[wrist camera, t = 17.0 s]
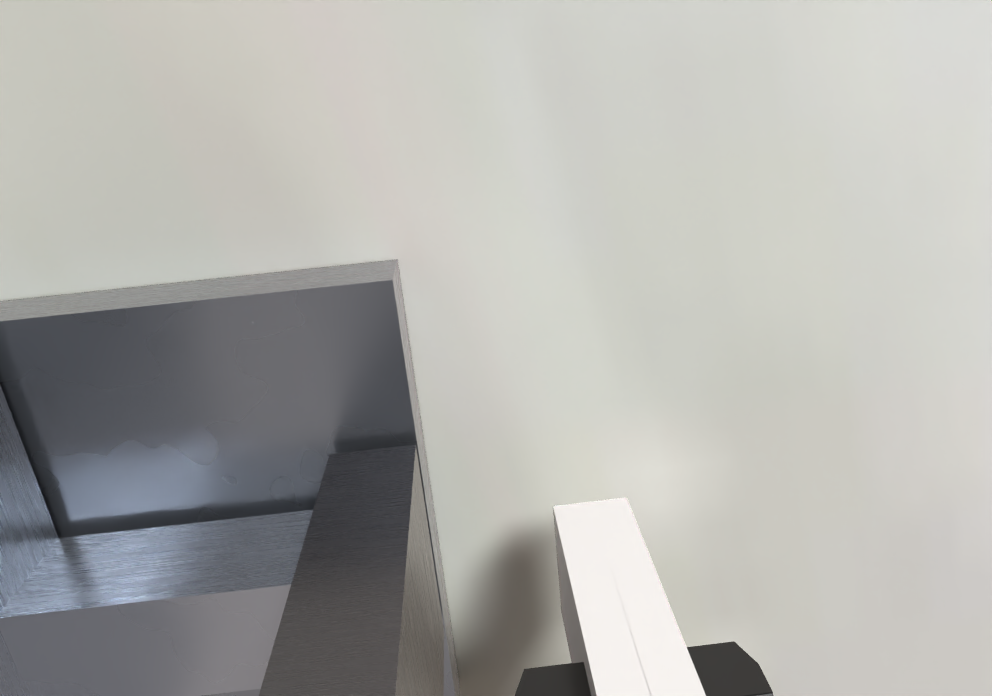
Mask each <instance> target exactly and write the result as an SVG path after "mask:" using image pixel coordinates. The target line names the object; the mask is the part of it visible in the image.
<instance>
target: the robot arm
mask: <svg viewBox="0 0 992 696" xmlns="http://www.w3.org/2000/svg"><path fill="white" fill-rule="evenodd" d="M553 512H554V524H555V537H556V549H557V562H558V574H559V586H560V599H561V611H562V617H563V622H564V627H565V632H566V637H567V642H568V646H569V651H570V656H571V661H572V663H570V664H562V665H554V666H546V667H538V668H530V669H524V672H523V674H522V677H521V680H520V683H519V685H518V688H517V691H516V694H515V696H773V692H772V690H771V688H770V686H769V684H768V682H767V680H766V678H765V676H764V674H763V672H762V670H761V668H760V666H759V664H758V663H757V662H756V661H755V660H754V659H752V658H751V657H750V656H749V655H748V654H747V653H746V652H745V651H744V650H743V649H742V648H741V647H739V646H738V645H737V644H736V643H735V642H727V643H719V644H710V645H702V646H694V647H686V644H685V642H684V639H683V637H682V634H681V632H680V629H679V627H678V624H677V622H676V619H675V617H674V614H673V612H672V609H671V607H670V604H669V602H668V599H667V597H666V594H665V592H664V589H663V587H662V584H661V582H660V579H659V577H658V574H657V572H656V569H655V567H654V564H653V562H652V559H651V557H650V554H649V552H648V549H647V547H646V544H645V542H644V539H643V537H642V534H641V532H640V529H639V527H638V524H637V522H636V519H635V517H634V514H633V512H632V509H631V507H630V504H629V502H628V499H627V497H624V498H616V499H608V500H599V501H591V502H582V503H574V504H565V505H557V506H553Z"/></svg>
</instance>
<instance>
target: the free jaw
mask: <svg viewBox="0 0 992 696" xmlns="http://www.w3.org/2000/svg"><path fill="white" fill-rule="evenodd" d="M254 689H260V693H259V696H444V627H443V620H442V614H441V607H440V601H439V594H438V588H437V581H436V574H435V568H434V561H433V555H432V548H431V541H430V535H429V528H428V522H427V515H426V509H425V502H424V495H423V489H422V482H421V476H420V469H419V462H418V456H417V449H416V445H408V446H398V447H389V448H380V449H371V450H362V451H353V452H344V453H335V454H329V458H328V461H327V464H326V468H325V471H324V475H323V478H322V482H321V485H320V488H319V492H318V495H317V499H316V502H315V505H314V509H313V510H305V511H296V512H288V513H279V514H270V515H261V516H252V517H243V518H234V519H225V520H216V521H207V522H198V523H189V524H180V525H171V526H162V527H153V528H144V529H136V530H127V531H118V532H109V533H100V534H91V535H82V536H73V537H64V538H59V537H58V535H57V532H56V529H55V527H54V524H53V521H52V519H51V516H50V514H49V511H48V508H47V506H46V503H45V501H44V498H43V495H42V493H41V490H40V488H39V485H38V482H37V480H36V477H35V474H34V472H33V469H32V467H31V464H30V461H29V459H28V456H27V454H26V451H25V448H24V446H23V443H22V441H21V438H20V435H19V433H18V430H17V427H16V425H15V422H14V420H13V417H12V414H11V412H10V409H9V407H8V404H7V401H6V399H5V396H4V394H3V391H2V388H1V386H0V696H202V695H211V694H219V693H228V692H237V691H245V690H254Z"/></svg>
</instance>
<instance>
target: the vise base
mask: <svg viewBox="0 0 992 696" xmlns="http://www.w3.org/2000/svg"><path fill="white" fill-rule="evenodd" d="M0 386H1V388H2V391H3V394H4V396H5V399H6V401H7V404H8V407H9V409H10V412H11V414H12V417H13V420H14V422H15V425H16V427H17V430H18V433H19V435H20V438H21V441H22V443H23V446H24V448H25V451H26V454H27V456H28V459H29V461H30V464H31V467H32V469H33V472H34V474H35V477H36V480H37V482H38V485H39V488H40V490H41V493H42V495H43V498H44V501H45V503H46V506H47V508H48V511H49V514H50V516H51V519H52V521H53V524H54V527H55V529H56V532H57V535H58V537H59V538H64V537H73V536H82V535H91V534H100V533H109V532H118V531H127V530H136V529H144V528H153V527H162V526H171V525H180V524H189V523H198V522H207V521H216V520H225V519H234V518H243V517H252V516H261V515H270V514H279V513H288V512H296V511H305V510H313V509H314V505H315V502H316V499H317V495H318V492H319V488H320V485H321V482H322V478H323V475H324V471H325V468H326V464H327V461H328V458H329V454H335V453H344V452H353V451H362V450H371V449H380V448H389V447H398V446H408V445H416V449H417V456H418V462H419V469H420V476H421V482H422V489H423V495H424V502H425V509H426V515H427V522H428V528H429V535H430V541H431V548H432V555H433V561H434V568H435V574H436V581H437V588H438V594H439V601H440V607H441V614H442V620H443V627H444V696H460V686H459V676H458V669H457V662H456V655H455V648H454V641H453V635H452V628H451V621H450V614H449V607H448V601H447V594H446V587H445V580H444V573H443V567H442V560H441V553H440V546H439V539H438V532H437V526H436V519H435V512H434V505H433V498H432V492H431V485H430V478H429V471H428V464H427V457H426V451H425V444H424V437H423V430H422V423H421V417H420V410H419V403H418V396H417V389H416V383H415V376H414V369H413V362H412V355H411V348H410V342H409V335H408V328H407V321H406V314H405V308H404V301H403V294H402V287H401V280H400V273H399V267H398V260H389V261H379V262H370V263H360V264H351V265H341V266H332V267H322V268H313V269H303V270H294V271H284V272H274V273H265V274H255V275H246V276H236V277H227V278H217V279H208V280H198V281H189V282H179V283H170V284H160V285H151V286H141V287H132V288H122V289H113V290H103V291H93V292H84V293H74V294H65V295H55V296H46V297H36V298H27V299H17V300H8V301H0ZM259 693H260V689H254V690H245V691H237V692H228V693H219V694H211V695H202V696H259Z"/></svg>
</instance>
